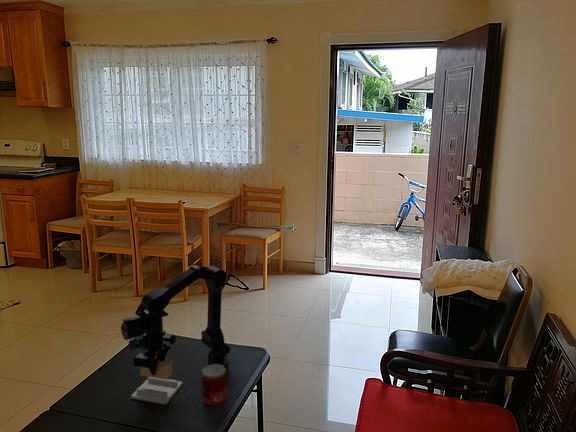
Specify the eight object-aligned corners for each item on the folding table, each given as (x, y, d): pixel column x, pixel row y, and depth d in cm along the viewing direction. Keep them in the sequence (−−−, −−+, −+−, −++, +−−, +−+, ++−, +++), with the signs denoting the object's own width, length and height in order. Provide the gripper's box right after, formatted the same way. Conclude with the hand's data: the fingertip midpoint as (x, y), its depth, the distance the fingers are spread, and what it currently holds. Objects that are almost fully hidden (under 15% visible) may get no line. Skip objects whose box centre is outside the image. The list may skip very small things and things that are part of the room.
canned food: (230, 394, 157) (229, 365, 154) (219, 408, 149) (218, 378, 147) (210, 390, 159) (209, 361, 157) (198, 403, 152) (197, 373, 149)
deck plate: (182, 384, 162) (182, 378, 162) (165, 404, 151) (165, 397, 151) (150, 379, 166) (149, 372, 165) (131, 398, 154) (130, 391, 154)
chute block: (172, 373, 158) (172, 362, 157) (167, 379, 154) (166, 368, 153) (146, 369, 160) (146, 359, 159) (140, 375, 156) (140, 364, 155)
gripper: (147, 316, 164) (150, 355, 168) (116, 340, 146) (120, 383, 150) (175, 319, 161) (177, 359, 165) (147, 344, 144) (150, 388, 147)
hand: (156, 371), depth 157 cm, fingers closed on chute block, 4 cm apart
